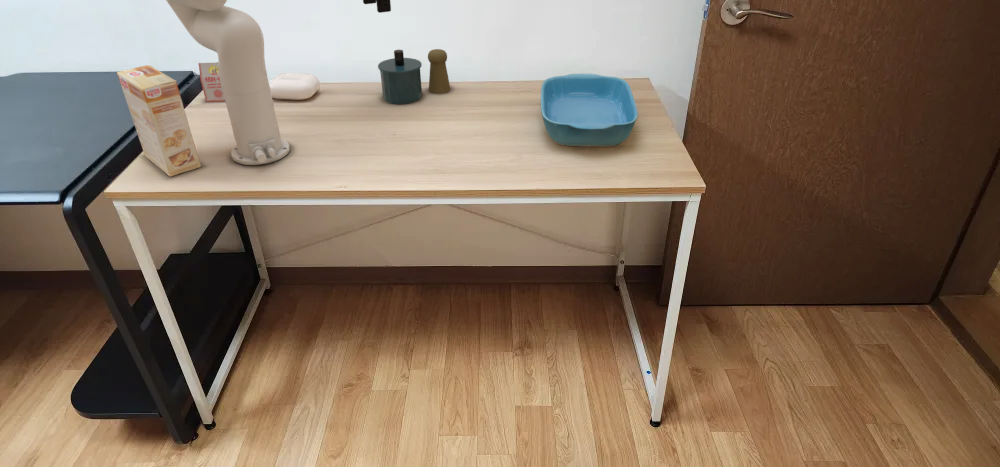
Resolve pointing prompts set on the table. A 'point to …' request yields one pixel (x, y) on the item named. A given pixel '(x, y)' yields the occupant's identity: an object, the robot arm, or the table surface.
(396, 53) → the pot lid
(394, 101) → the pot
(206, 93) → the tea bag
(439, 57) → the pepper mill
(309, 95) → the earbud case
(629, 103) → the casserole dish
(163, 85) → the coffeecake box
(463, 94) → the table surface
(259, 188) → the table surface
